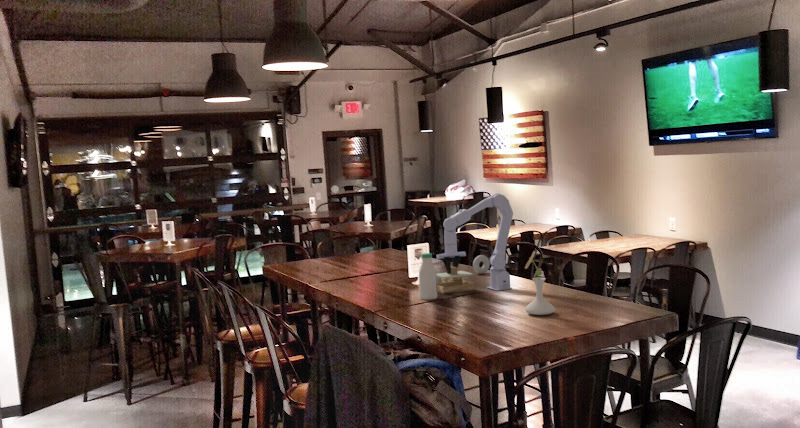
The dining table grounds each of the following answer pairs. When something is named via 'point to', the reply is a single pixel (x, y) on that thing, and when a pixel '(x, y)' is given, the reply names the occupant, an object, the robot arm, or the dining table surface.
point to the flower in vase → (538, 295)
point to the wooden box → (454, 287)
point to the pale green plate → (453, 273)
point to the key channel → (450, 279)
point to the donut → (485, 264)
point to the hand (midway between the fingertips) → (452, 272)
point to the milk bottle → (427, 278)
